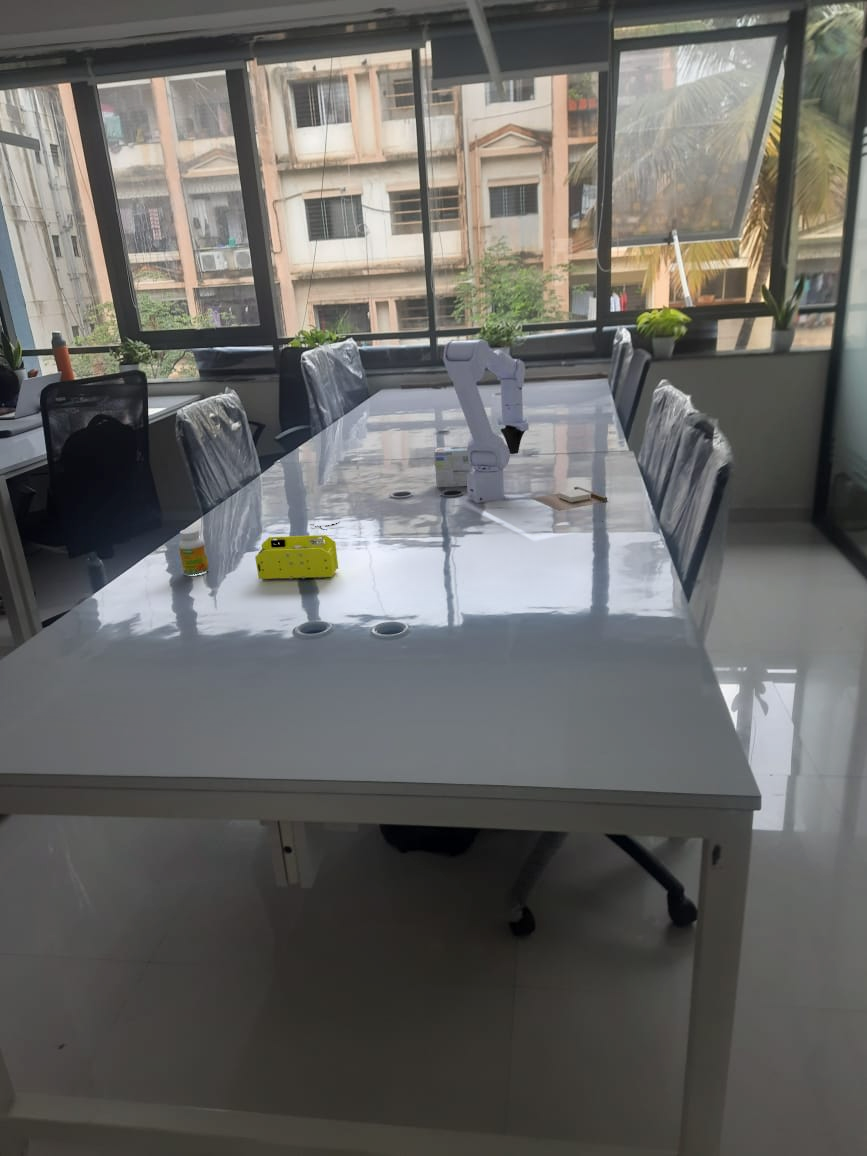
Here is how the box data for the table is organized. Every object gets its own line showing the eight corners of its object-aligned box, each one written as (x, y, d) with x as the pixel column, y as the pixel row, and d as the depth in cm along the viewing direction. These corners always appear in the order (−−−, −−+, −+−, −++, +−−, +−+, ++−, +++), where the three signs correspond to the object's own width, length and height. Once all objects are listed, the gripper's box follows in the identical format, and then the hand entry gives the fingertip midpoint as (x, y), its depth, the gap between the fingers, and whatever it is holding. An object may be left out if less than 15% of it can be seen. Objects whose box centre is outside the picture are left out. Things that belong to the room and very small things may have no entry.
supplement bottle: (184, 578, 171) (175, 535, 168) (184, 571, 176) (176, 529, 172) (209, 574, 172) (201, 532, 169) (209, 567, 177) (201, 525, 174)
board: (559, 514, 196) (559, 506, 195) (531, 502, 208) (531, 494, 207) (607, 505, 201) (607, 497, 200) (577, 494, 213) (577, 486, 212)
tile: (570, 497, 200) (591, 493, 202) (558, 492, 206) (578, 488, 208) (570, 503, 201) (591, 499, 203) (558, 498, 206) (578, 494, 208)
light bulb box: (473, 480, 236) (471, 445, 232) (472, 486, 230) (470, 449, 226) (438, 482, 237) (435, 446, 234) (436, 488, 231) (433, 451, 227)
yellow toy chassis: (339, 571, 169) (334, 534, 166) (333, 580, 163) (328, 542, 161) (267, 573, 171) (261, 536, 168) (258, 583, 165) (252, 545, 163)
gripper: (537, 405, 211) (539, 455, 216) (512, 399, 224) (514, 447, 229) (514, 408, 209) (516, 459, 214) (490, 402, 222) (492, 450, 226)
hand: (513, 453), depth 221 cm, fingers closed
